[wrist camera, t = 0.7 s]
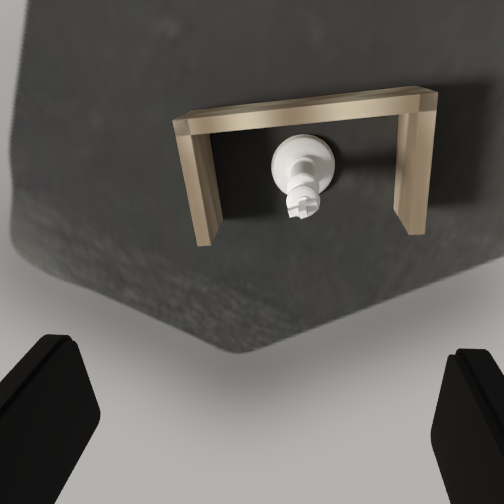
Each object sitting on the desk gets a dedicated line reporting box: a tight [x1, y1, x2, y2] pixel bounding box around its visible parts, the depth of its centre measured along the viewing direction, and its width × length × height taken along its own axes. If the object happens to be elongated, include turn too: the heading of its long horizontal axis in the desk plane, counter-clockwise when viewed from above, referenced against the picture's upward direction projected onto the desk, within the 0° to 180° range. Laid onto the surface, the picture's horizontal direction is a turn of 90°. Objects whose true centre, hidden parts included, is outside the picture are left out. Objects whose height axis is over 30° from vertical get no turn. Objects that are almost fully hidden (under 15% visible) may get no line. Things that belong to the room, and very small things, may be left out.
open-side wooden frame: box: [173, 86, 438, 246], centre depth 27 cm, size 16×9×5 cm, turn 96°
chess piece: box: [271, 134, 335, 219], centre depth 25 cm, size 5×5×10 cm
